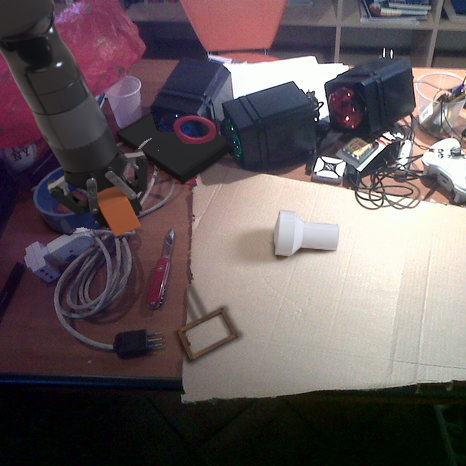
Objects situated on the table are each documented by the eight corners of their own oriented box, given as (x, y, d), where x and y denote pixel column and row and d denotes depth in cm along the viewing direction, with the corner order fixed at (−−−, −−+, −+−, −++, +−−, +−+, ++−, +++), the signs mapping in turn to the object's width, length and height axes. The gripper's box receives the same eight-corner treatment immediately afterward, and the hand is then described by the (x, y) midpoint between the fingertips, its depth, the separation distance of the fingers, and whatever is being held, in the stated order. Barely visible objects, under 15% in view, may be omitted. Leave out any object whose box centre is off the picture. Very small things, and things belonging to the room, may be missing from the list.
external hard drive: (184, 187, 100) (181, 176, 98) (120, 142, 111) (115, 132, 109) (235, 151, 107) (232, 141, 105) (170, 113, 117) (166, 102, 115)
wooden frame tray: (192, 364, 75) (190, 360, 74) (157, 286, 85) (154, 281, 83) (239, 339, 77) (238, 335, 76) (199, 266, 87) (197, 261, 86)
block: (115, 237, 74) (100, 210, 69) (108, 220, 76) (94, 193, 72) (141, 226, 75) (128, 199, 70) (133, 210, 77) (120, 183, 73)
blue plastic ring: (56, 248, 91) (41, 228, 87) (41, 199, 100) (27, 178, 95) (134, 216, 96) (124, 195, 91) (114, 172, 104) (103, 150, 100)
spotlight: (273, 223, 91) (277, 200, 84) (333, 228, 92) (342, 206, 85) (271, 262, 87) (275, 241, 80) (333, 267, 88) (342, 247, 81)
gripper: (123, 95, 66) (159, 186, 79) (13, 131, 62) (70, 221, 75) (138, 124, 61) (174, 215, 74) (21, 165, 57) (80, 254, 70)
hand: (121, 218), depth 75 cm, fingers closed on block, 4 cm apart
